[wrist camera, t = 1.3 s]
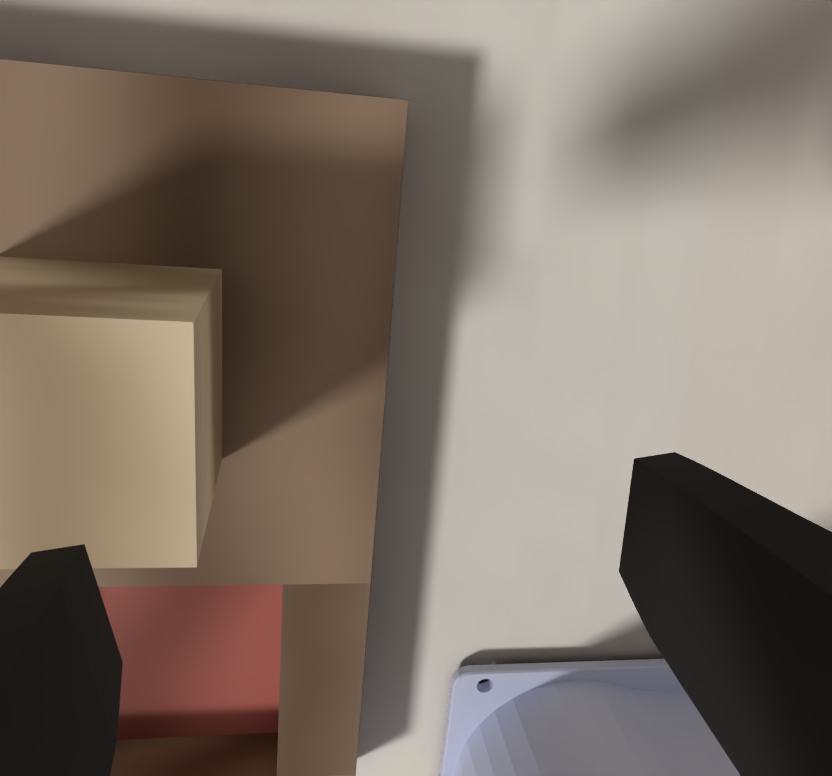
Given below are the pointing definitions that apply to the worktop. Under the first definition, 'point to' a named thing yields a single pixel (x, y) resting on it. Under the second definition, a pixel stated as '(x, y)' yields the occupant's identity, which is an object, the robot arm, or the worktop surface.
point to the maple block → (108, 410)
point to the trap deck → (237, 388)
